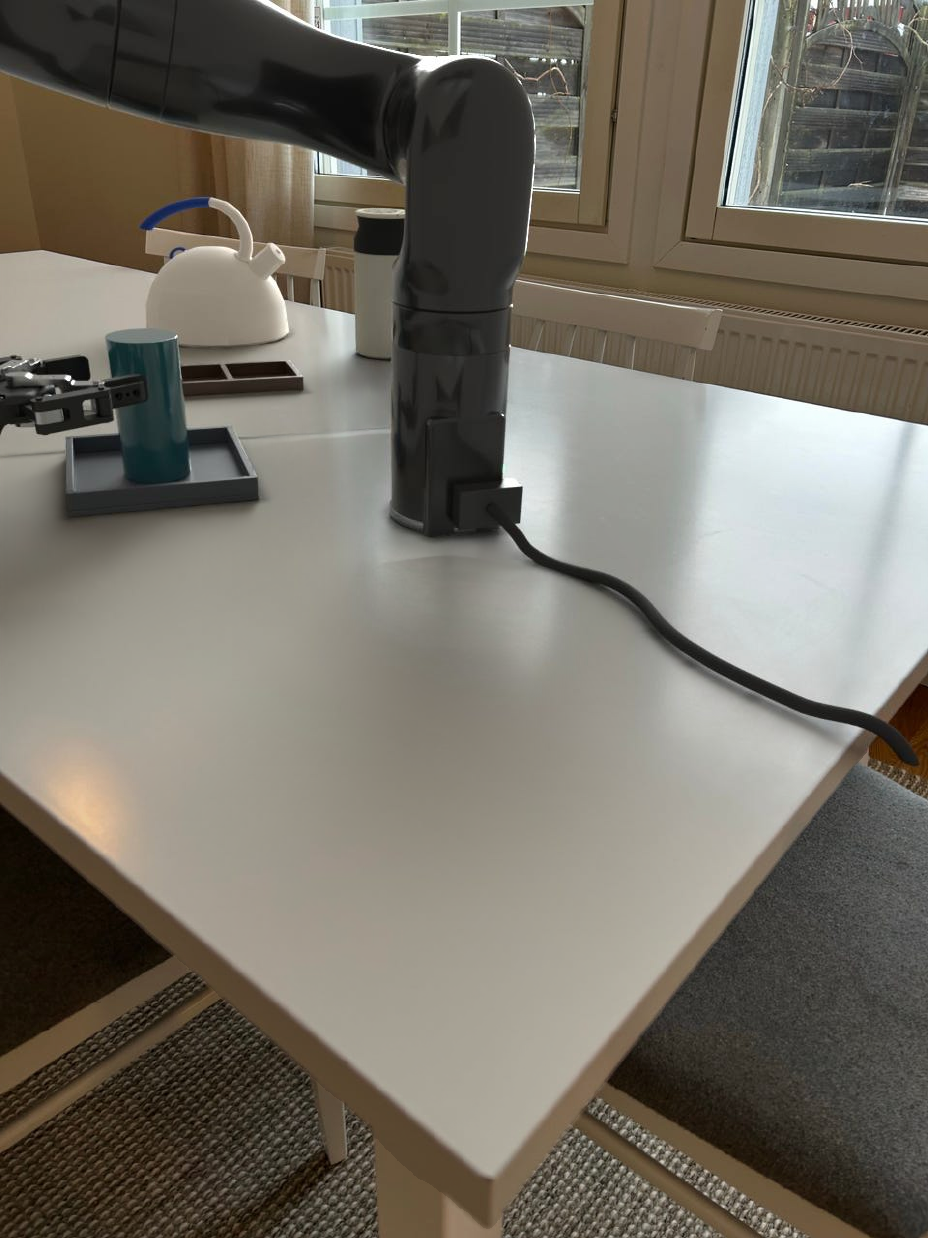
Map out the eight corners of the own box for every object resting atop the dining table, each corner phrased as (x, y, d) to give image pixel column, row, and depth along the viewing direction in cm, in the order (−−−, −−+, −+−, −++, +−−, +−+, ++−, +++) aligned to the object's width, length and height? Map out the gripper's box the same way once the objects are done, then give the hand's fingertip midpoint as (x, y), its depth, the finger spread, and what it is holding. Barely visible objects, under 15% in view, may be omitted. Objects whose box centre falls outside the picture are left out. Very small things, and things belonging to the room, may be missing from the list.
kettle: (264, 353, 128) (255, 207, 119) (119, 342, 130) (99, 198, 122) (309, 323, 145) (304, 195, 137) (180, 314, 148) (167, 187, 139)
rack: (303, 392, 111) (303, 376, 110) (158, 401, 106) (156, 384, 105) (289, 374, 118) (289, 359, 117) (152, 382, 113) (150, 366, 112)
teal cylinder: (195, 480, 84) (180, 341, 78) (125, 486, 82) (105, 344, 76) (188, 459, 88) (173, 326, 83) (122, 464, 86) (103, 329, 81)
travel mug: (346, 356, 128) (342, 211, 119) (369, 344, 135) (368, 206, 126) (400, 362, 126) (401, 215, 117) (422, 350, 132) (424, 210, 124)
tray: (259, 499, 81) (257, 477, 81) (69, 517, 77) (65, 493, 76) (233, 444, 94) (231, 424, 93) (69, 457, 89) (65, 436, 88)
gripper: (-54, 381, 62) (160, 345, 73) (-144, 344, 70) (62, 316, 81) (-30, 490, 65) (171, 440, 77) (-118, 442, 73) (75, 403, 84)
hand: (115, 376), depth 79 cm, fingers open, 8 cm apart
